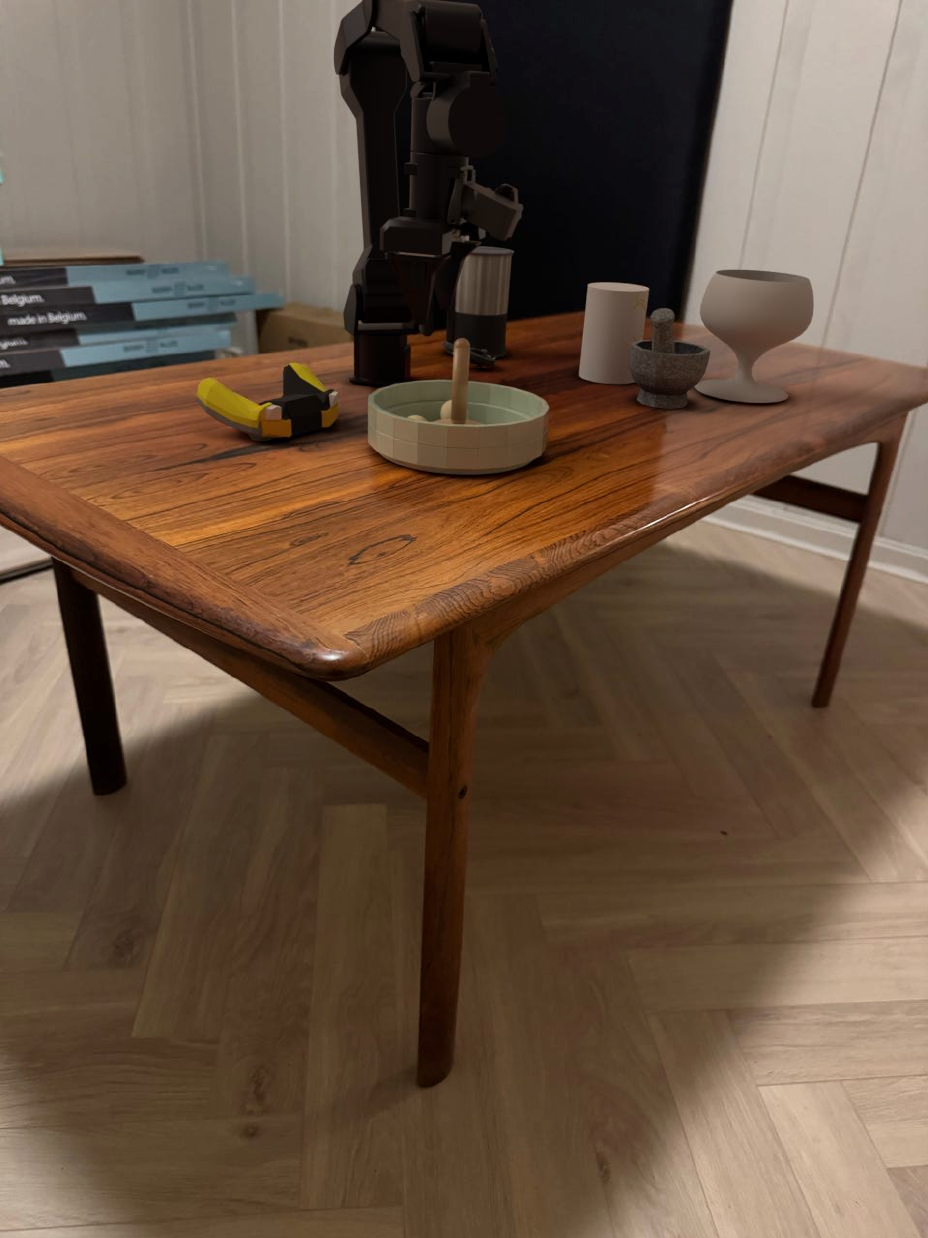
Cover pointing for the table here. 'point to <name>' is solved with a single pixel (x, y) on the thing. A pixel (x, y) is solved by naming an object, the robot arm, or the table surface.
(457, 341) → the stirrer
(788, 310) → the chalice
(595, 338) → the tall cream tube
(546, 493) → the table surface
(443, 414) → the dumpling
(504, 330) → the milk frother
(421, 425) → the bowl
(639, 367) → the mortar and pestle
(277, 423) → the gaming controller
